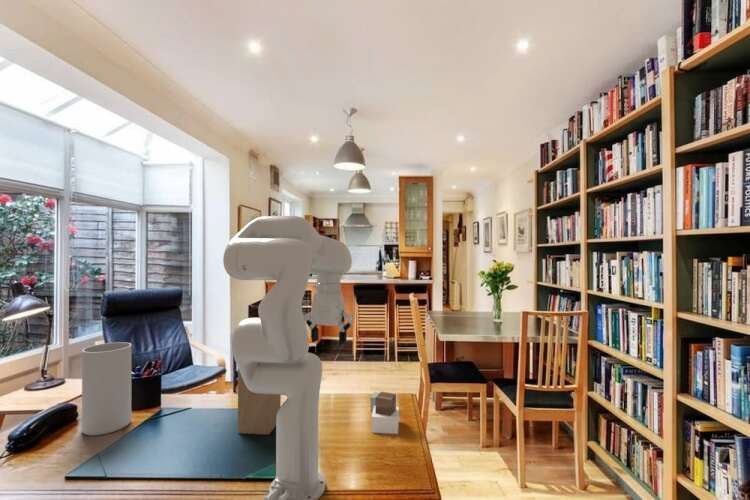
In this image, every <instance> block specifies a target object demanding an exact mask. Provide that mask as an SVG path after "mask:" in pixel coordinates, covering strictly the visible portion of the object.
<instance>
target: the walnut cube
mask: <svg viewBox="0 0 750 500" xmlns="http://www.w3.org/2000/svg"><path fill="white" fill-rule="evenodd" d="M378 393H379V394H378V395H377V396H376V414H382V415H387V416H391V415H392V414H393V413H394V412H395V410H396V407H397V393H392V392H387V391H381V392H378Z"/></svg>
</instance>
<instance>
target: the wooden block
mask: <svg viewBox="0 0 750 500" xmlns="http://www.w3.org/2000/svg"><path fill="white" fill-rule="evenodd" d="M281 396H282V395H277V394H259V393H253V392H251V391H250V390H249V389H248V388H247V387H246V385H245V383H244V380H243V378H242V376H241V373H240V371H239V369H237V433H238V434H245V435H246V434H248V435H264V436H266V435H267V436H268V435H270V434H271V433H272V431H273V430H274V429H276V428H275V427H276V416H277V413H278V410H279V408H280V407H281V405H282V404H281V402H282V401H281Z"/></svg>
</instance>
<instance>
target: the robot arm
mask: <svg viewBox="0 0 750 500" xmlns="http://www.w3.org/2000/svg"><path fill="white" fill-rule="evenodd" d="M222 259H223V260H222V261H223V267H224V271H225V273H227V275H228V276H230V278H233V279H235V280H238V281H275V284H274V285H273V286H272V287H271V289H270V290H269V291H268V292H267V293H266V294H265V295H264V296H263V298H262V300H261V301H260V303H259V304H258V308H257V310H258V311H257V313H258V316H259V317H258V316H257V317H255V316H254V317H248V318H245V319H243V320H240V321H239V323H238V324H236V327H235V328H234V330H233V333H232V337H231V338H232V339H231V349H232V351H231V352H232V356H233V359H234V361H235V364H236V366H237V368H238V369H239V371H240V373H241V376H242V378H243V380H244V383H245V385H246V387H247V388H248V389H249V390H250V391H251V392H253V393H259V394H277V395H281V396H286V397H287V398H286V400H285V401H284V402H283V403H282V404H281V406H280V408H279V410H278V413H277V416H276V426H275V427H276V428H275V439H276V440H275V447H276V448H275V452H276V453H275V456H276V457H275V460H276V461H275V463H276V464H275V469H276V470H275V479H273V480H272V481H271V482H270V485H269V488H268V494H267V495H266V496H264V498H263V500H319V498H321V497H322V496H323V494H324V493H325V490H326V479H325V478H324V476H323V474H321V473H319V401H320V391H321V385H322V378H323V363H322V360H321V359H320V357H319V356H318V355H316V354H315V353H312V352H308V351H309V348H310V339H309V334H308V333H309V332H308V328H307V325H308V327H309V330H310V332H311V333H310V338H311V342H312V343H315V342H318V341H319V338H320V337H319V334H320V333H319V331H320V330H319V327H318V326H328V327H329V326H330V327H337V328H338V329H339V330H340V331H339V333H338V344H339V345H340V346H343V345H344V344H345V343H346V342H347V331H348V330H349V329H350V328H351V327H352V326H353V325H352V324H353V322H354V321H355V317H354V316H353V315H351V314H350V313H348V312H346V309H345V307H346V306H345V300H344V295H343V292H341V275H343V274H345V275H346V274H347V273H348V272H349V271H350V269H351V268H352V262H353V261H352V260H353V259H352V255H351V252H350V250H349V248H348V246H347V245H346V244H345V243H344V242H342V241H340V240H338V239H334V238H332V237H328V236H326V235H323V234H322V235H321V234H320V233H319V232H318V231H317V230H316V228H315V227H314V226H313V225H312V224H311V223H310V221H309V220H307V219H306V218H304V217H302V216H296V215H269V216H268V215H264V216H260V217H257V218H255V219H253V220H252V221H250V222H249V223H248V224H246V225H245V226H244V227H243V228H242V229H241V230H240V231H239V232H238V233H237V234H235V236H234V237H232V239H231V240H230V241H229V242H228V244H227V245H226V248H225V249H224V252H223V257H222ZM311 275H316V283H315V284H313V286H312V287H313V289H315V290H316V292H313V296H312V302H311V311H309V312H306V313H305V314H304V313H303V306H302V305H303V300H304V295H305V293H306V291H307V287H308V283H309V278H310V276H311ZM346 320H347V322H346V323H345V321H346ZM238 369H237V370H238Z"/></svg>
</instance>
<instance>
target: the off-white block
mask: <svg viewBox="0 0 750 500" xmlns="http://www.w3.org/2000/svg"><path fill="white" fill-rule="evenodd" d="M371 413H372V414H371V419H370V420H371V422H370V424H371V426H370V427H371V428H370V429H371V430H370V431H371V434H390V435H393V434H394V435H398V434H399V426H398V425H400V407H399V406H396V410H395V412H394V413H393V414H392V415H391V416H387V415H382V414H376V406H374V409H373V412H371Z"/></svg>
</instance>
